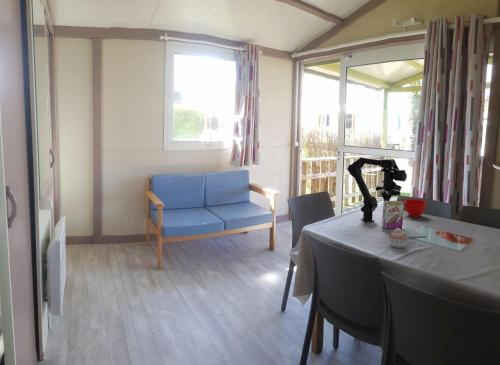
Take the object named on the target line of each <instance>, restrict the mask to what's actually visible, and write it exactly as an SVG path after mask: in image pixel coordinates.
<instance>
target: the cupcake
mask: <svg viewBox="0 0 500 365" xmlns="http://www.w3.org/2000/svg"><path fill="white" fill-rule="evenodd" d="M406 237H407V235H406V234H405V233H404V232H403V231H401V229H400V228H397V229H395V230H394V231H393V232H392V233H391V235H389V237H388V238H389V241H390V246H391V247H392V248H394V249H404V248H405V246H406V243H407V241H408V239H409V238H406Z"/></svg>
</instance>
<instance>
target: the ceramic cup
mask: <svg viewBox="0 0 500 365" xmlns="http://www.w3.org/2000/svg"><path fill="white" fill-rule="evenodd" d="M404 201H405V202H404V211H405V212H407V214H408V215H409V216H410V217H415V218H417V217H420V216H422V215H423V213H424V212H425V209H426V205H427V201H425V200H422V199H410V198H409V199H405V200H404ZM404 211H403V212H404Z"/></svg>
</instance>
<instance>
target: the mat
mask: <svg viewBox="0 0 500 365" xmlns="http://www.w3.org/2000/svg"><path fill="white" fill-rule="evenodd" d="M394 230H395V229H381V232H383V233H385V234H387V235H389V236H391V233H392V232H393V231H394ZM401 231H403V232H404V233H405V234H406V235H407V237H406V238H408V239H414V238H413V237H417V238H427V235H425V234H422V233H421V232H418V231H416V230H414V229H412V228H409V227H408V228H407V227H406V228H402V229H401Z"/></svg>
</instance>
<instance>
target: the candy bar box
mask: <svg viewBox="0 0 500 365" xmlns="http://www.w3.org/2000/svg"><path fill="white" fill-rule="evenodd" d="M404 203H405V202H404V201H400V200H389V201H384V200H383V204H382V219H381V227H382V229H383V230H388V229H397V228H400V229H403V220H404V209H405V204H404Z"/></svg>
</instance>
